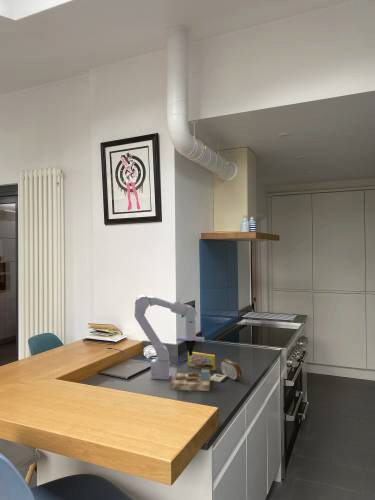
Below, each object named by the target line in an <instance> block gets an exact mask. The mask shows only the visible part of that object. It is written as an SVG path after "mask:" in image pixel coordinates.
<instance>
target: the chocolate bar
mask: <svg viewBox="0 0 375 500" xmlns="http://www.w3.org/2000/svg"><path fill="white" fill-rule="evenodd" d="M227 379H229V377H228V376H226V375H224V374H223V373H222V371H221V368H217V369H216V370H214V372H213V373H211V381H210V382H216V383H217V382H218V383H220V384H221V383H222V384H223V383H224V382H225V381H226V380H227Z"/></svg>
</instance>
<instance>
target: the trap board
mask: <svg viewBox="0 0 375 500" xmlns="http://www.w3.org/2000/svg"><path fill="white" fill-rule="evenodd" d="M211 375H212V373H210V379H209V381H204V380H201V373H199V372H187V373H179V372H178V373H176V372H175V373H174V375H173V378H171V379H172V380H171V382H170V390H173V391H198V392H199V391H200V392H201V391H203V392H205V391H206V392H210V387H211V382H212V381H211Z"/></svg>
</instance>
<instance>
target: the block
mask: <svg viewBox="0 0 375 500" xmlns="http://www.w3.org/2000/svg"><path fill="white" fill-rule="evenodd" d="M200 369H201V370H200V374H201V380H204V381H209V379H210V374H211V373H210V372H211V370H208V369H202V368H200Z"/></svg>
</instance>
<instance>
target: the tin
mask: <svg viewBox="0 0 375 500" xmlns="http://www.w3.org/2000/svg"><path fill="white" fill-rule="evenodd" d="M220 369H221V371H222V373H223V374H224V375H226V376H228V379H231V380H233V381H238V380H241V378H242V374H243V373H242V370H241V369H242V368H241V367H240V365H239V364H238V363H237V362H235V361H232V360H230V359H228V358H225V359H222V360H221V362H220Z"/></svg>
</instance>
